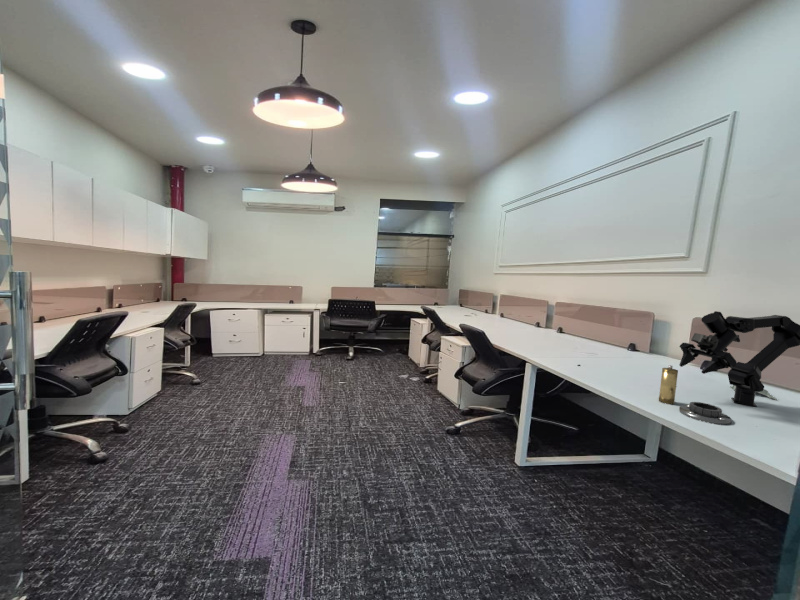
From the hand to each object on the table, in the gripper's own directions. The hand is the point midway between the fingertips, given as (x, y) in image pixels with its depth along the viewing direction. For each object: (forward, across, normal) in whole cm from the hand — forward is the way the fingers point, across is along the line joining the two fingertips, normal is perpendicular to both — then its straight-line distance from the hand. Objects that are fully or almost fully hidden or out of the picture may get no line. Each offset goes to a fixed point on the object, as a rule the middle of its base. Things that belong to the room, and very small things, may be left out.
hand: (691, 369), depth 137 cm
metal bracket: (-21, -12, +42) cm, 48 cm away
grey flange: (+14, +13, +5) cm, 19 cm away
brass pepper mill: (+16, 0, +3) cm, 16 cm away
